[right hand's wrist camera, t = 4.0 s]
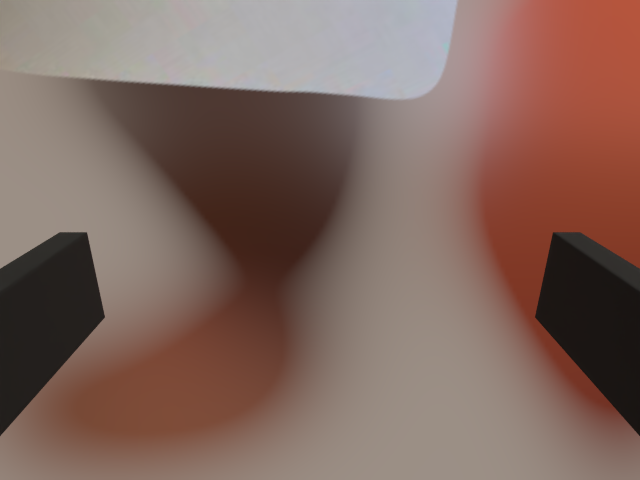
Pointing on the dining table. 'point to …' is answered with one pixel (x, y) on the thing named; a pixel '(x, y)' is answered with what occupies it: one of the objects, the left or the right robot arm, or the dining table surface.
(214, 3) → the dining table surface
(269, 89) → the dining table surface
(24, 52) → the dining table surface
